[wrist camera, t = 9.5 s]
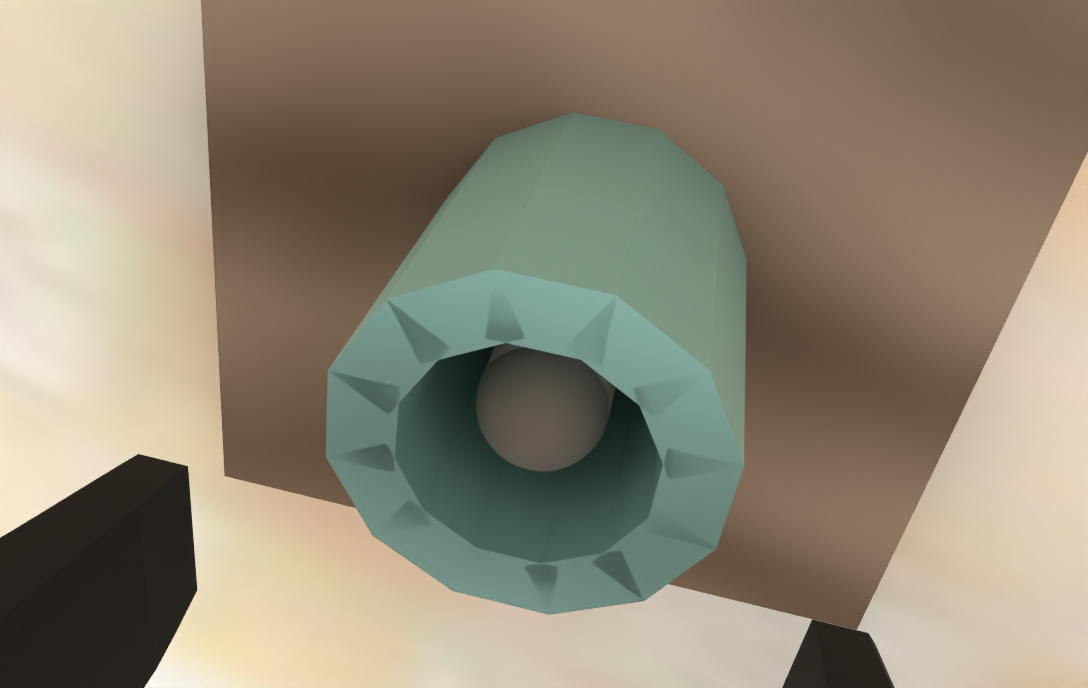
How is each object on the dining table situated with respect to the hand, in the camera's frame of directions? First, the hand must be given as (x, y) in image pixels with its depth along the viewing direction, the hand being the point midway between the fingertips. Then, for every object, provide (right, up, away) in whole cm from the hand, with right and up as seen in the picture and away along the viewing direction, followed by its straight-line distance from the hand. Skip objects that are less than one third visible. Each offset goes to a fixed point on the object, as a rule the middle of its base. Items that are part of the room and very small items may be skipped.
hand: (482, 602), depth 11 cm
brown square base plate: (+2, +5, +8) cm, 9 cm away
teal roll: (+2, +4, +7) cm, 8 cm away
